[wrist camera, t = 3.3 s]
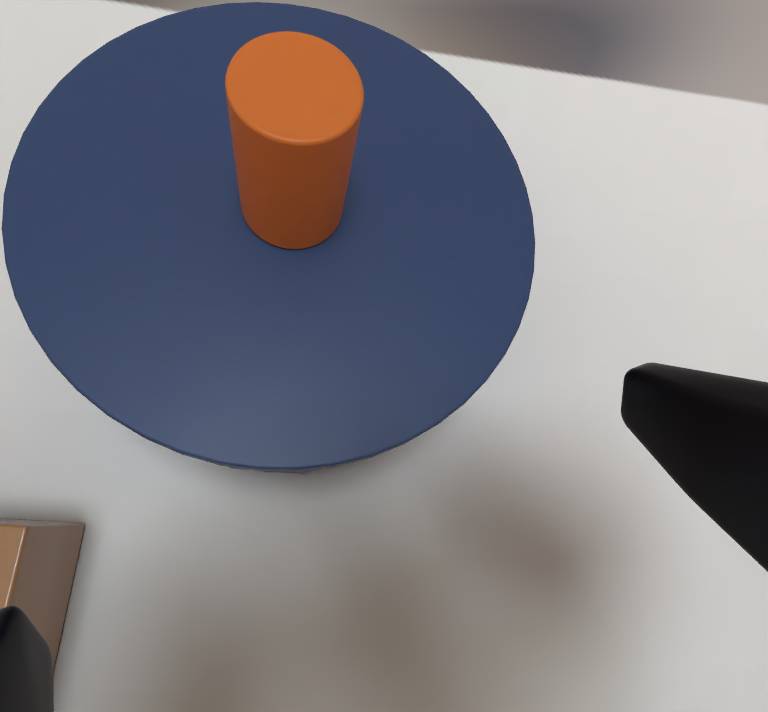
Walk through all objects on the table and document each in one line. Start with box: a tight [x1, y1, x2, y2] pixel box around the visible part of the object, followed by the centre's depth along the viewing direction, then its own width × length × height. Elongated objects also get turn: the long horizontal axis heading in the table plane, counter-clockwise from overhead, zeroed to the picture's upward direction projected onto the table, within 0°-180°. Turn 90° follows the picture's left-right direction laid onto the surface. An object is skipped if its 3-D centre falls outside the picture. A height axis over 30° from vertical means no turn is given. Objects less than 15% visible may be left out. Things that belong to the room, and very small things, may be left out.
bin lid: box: [2, 2, 535, 471], centre depth 14 cm, size 15×15×6 cm
